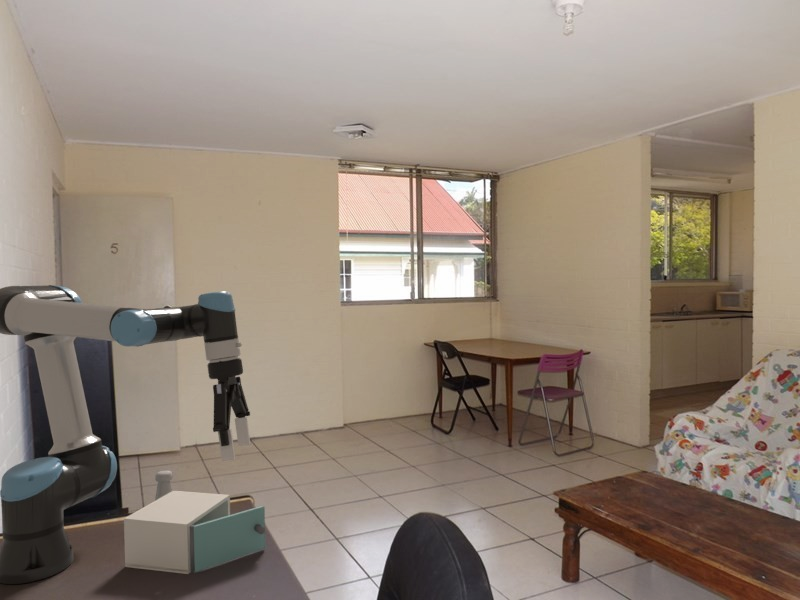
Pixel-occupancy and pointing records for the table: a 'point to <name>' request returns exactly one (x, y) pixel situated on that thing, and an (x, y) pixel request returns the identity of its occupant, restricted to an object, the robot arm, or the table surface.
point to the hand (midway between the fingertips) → (237, 452)
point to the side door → (226, 538)
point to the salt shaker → (163, 483)
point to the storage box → (169, 529)
